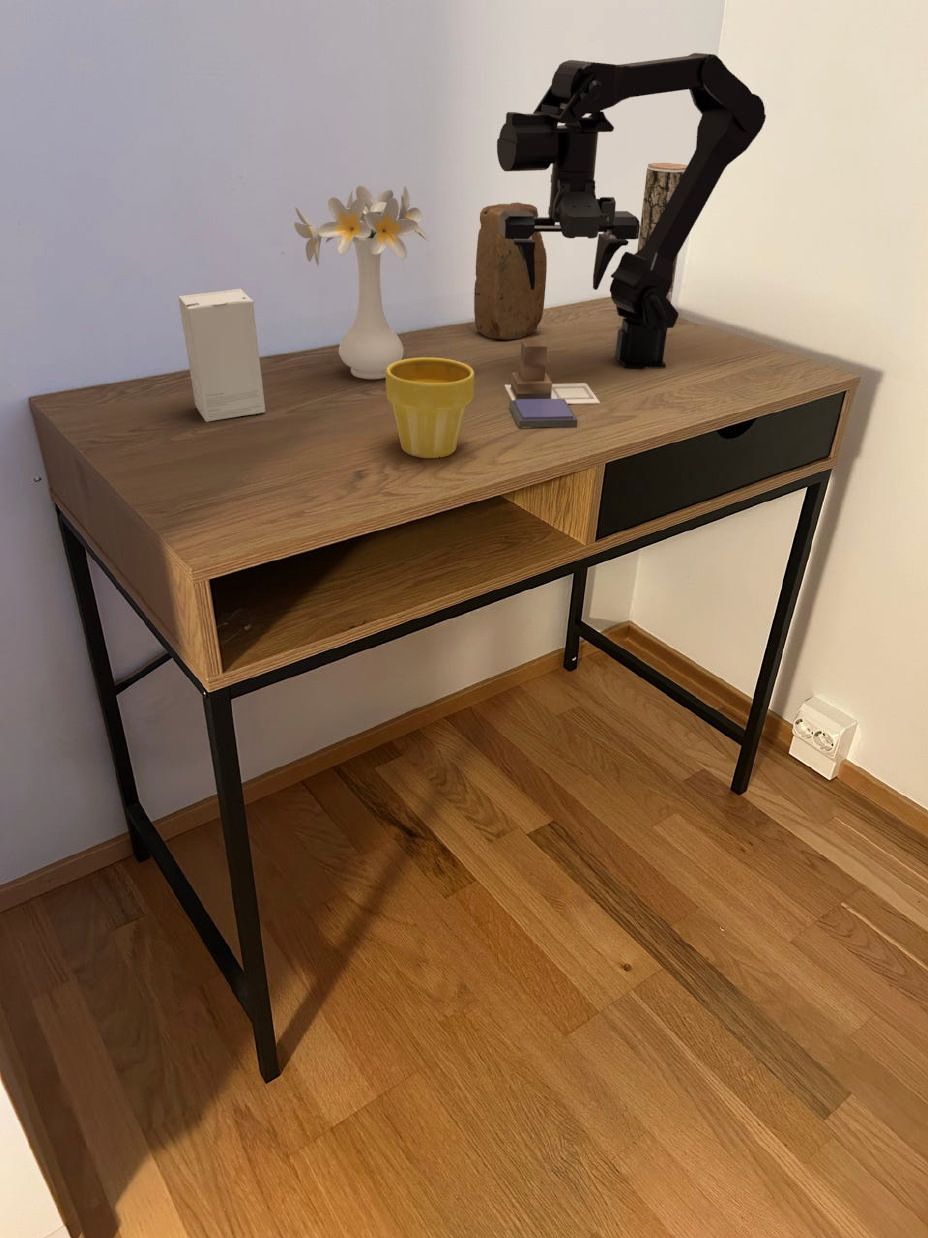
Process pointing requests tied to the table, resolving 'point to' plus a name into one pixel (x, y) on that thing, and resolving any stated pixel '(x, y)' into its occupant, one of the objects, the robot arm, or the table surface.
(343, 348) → the flower vase
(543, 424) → the inkpad
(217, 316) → the skincare box
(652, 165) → the bark patterned cylinder
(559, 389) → the sheet
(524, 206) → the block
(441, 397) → the plant pot
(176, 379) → the table surface
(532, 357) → the stamp
